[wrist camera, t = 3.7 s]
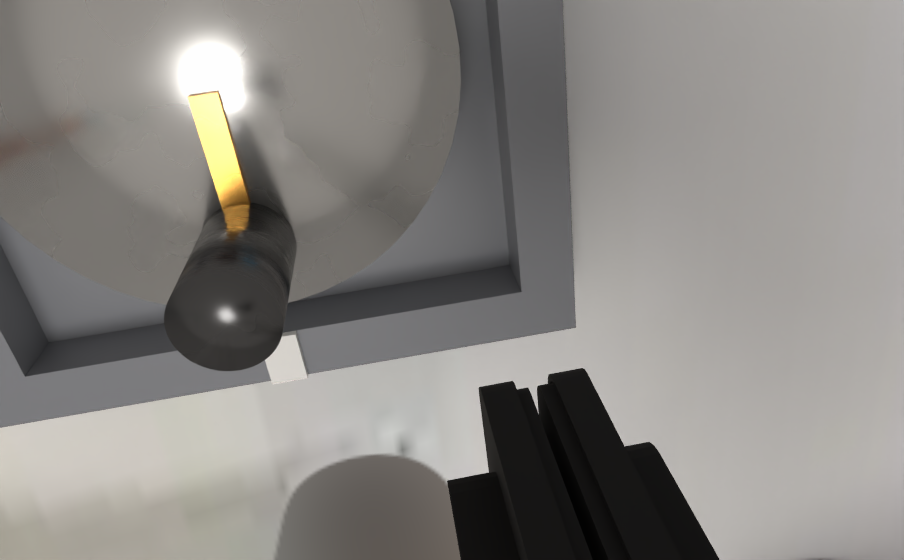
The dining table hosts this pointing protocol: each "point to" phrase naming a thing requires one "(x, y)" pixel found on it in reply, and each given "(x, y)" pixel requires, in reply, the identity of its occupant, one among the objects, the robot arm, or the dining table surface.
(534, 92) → the housing
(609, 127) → the dining table surface
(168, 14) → the dial
